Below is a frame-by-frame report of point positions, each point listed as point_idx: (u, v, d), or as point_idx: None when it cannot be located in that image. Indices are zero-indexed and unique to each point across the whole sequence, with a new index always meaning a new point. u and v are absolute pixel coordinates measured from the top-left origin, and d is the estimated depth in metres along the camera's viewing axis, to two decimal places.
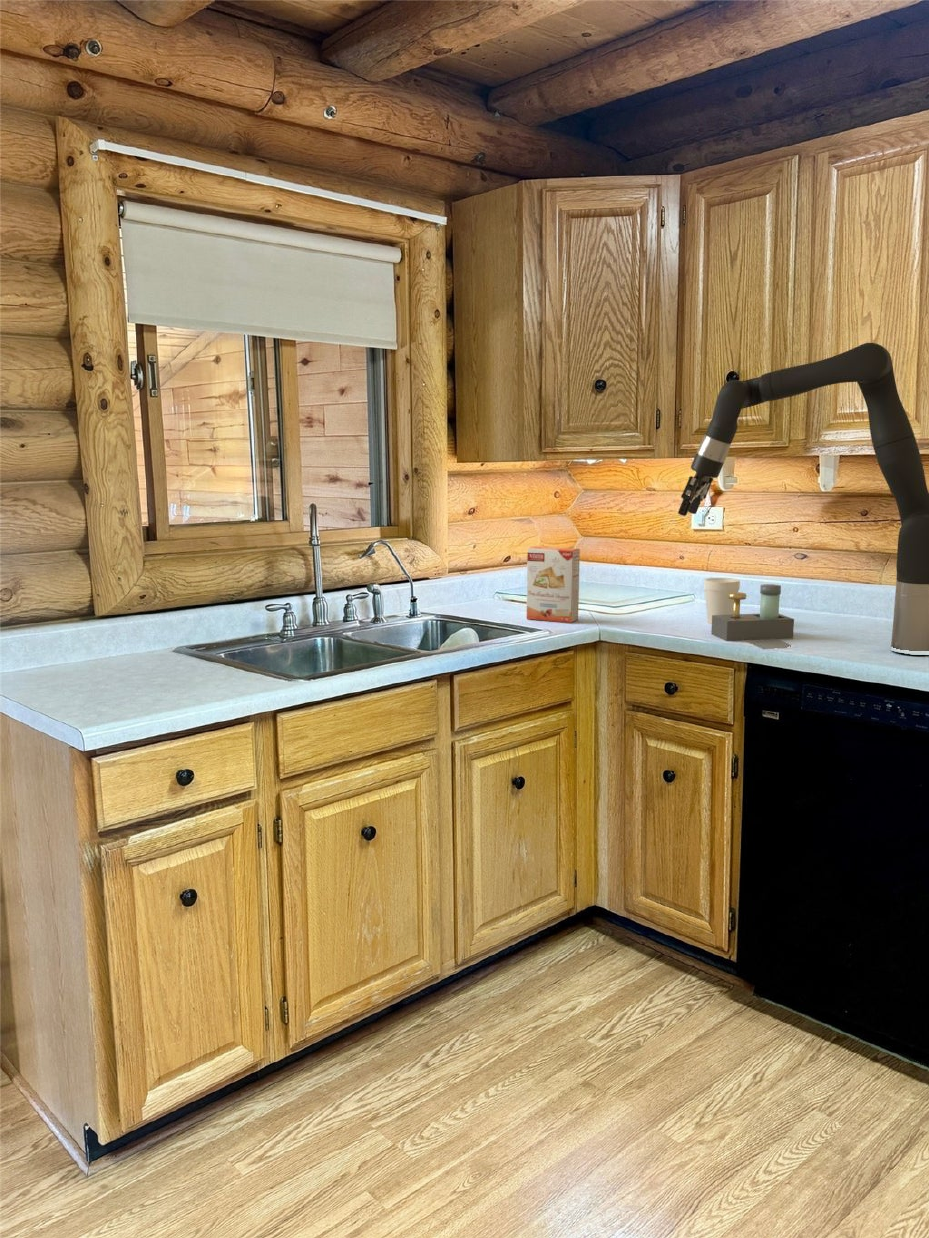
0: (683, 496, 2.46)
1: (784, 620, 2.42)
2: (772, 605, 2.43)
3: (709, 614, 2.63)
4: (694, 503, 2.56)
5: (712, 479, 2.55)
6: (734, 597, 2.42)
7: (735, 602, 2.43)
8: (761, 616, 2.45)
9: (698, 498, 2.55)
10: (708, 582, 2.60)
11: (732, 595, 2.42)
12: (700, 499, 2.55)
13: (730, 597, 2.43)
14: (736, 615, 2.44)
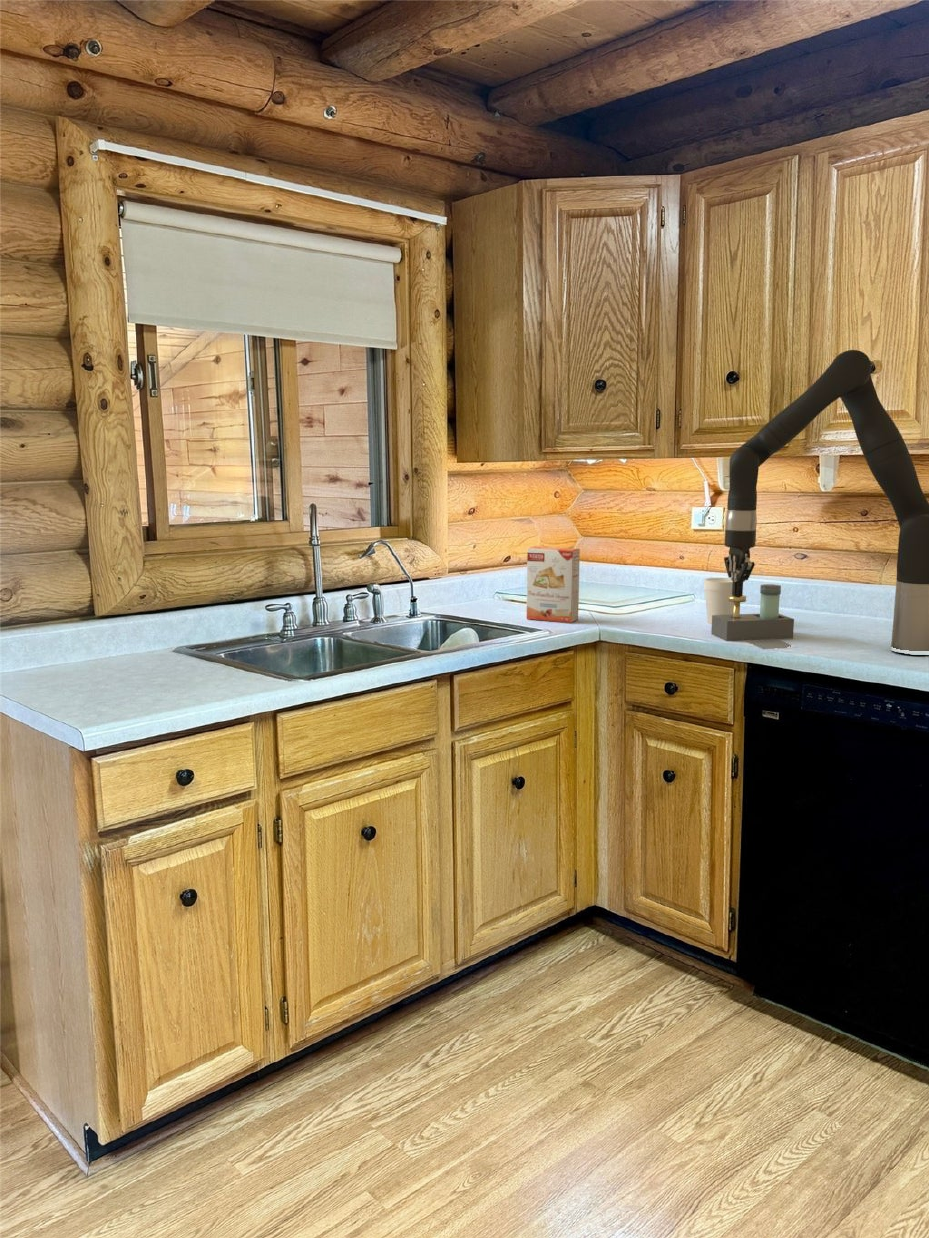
0: (740, 579, 2.40)
1: (784, 620, 2.42)
2: (772, 605, 2.43)
3: (709, 614, 2.63)
4: None
5: None
6: (734, 600, 2.42)
7: (735, 605, 2.43)
8: (761, 616, 2.45)
9: None
10: (708, 582, 2.60)
11: (732, 598, 2.42)
12: None
13: (730, 600, 2.43)
14: (736, 618, 2.44)
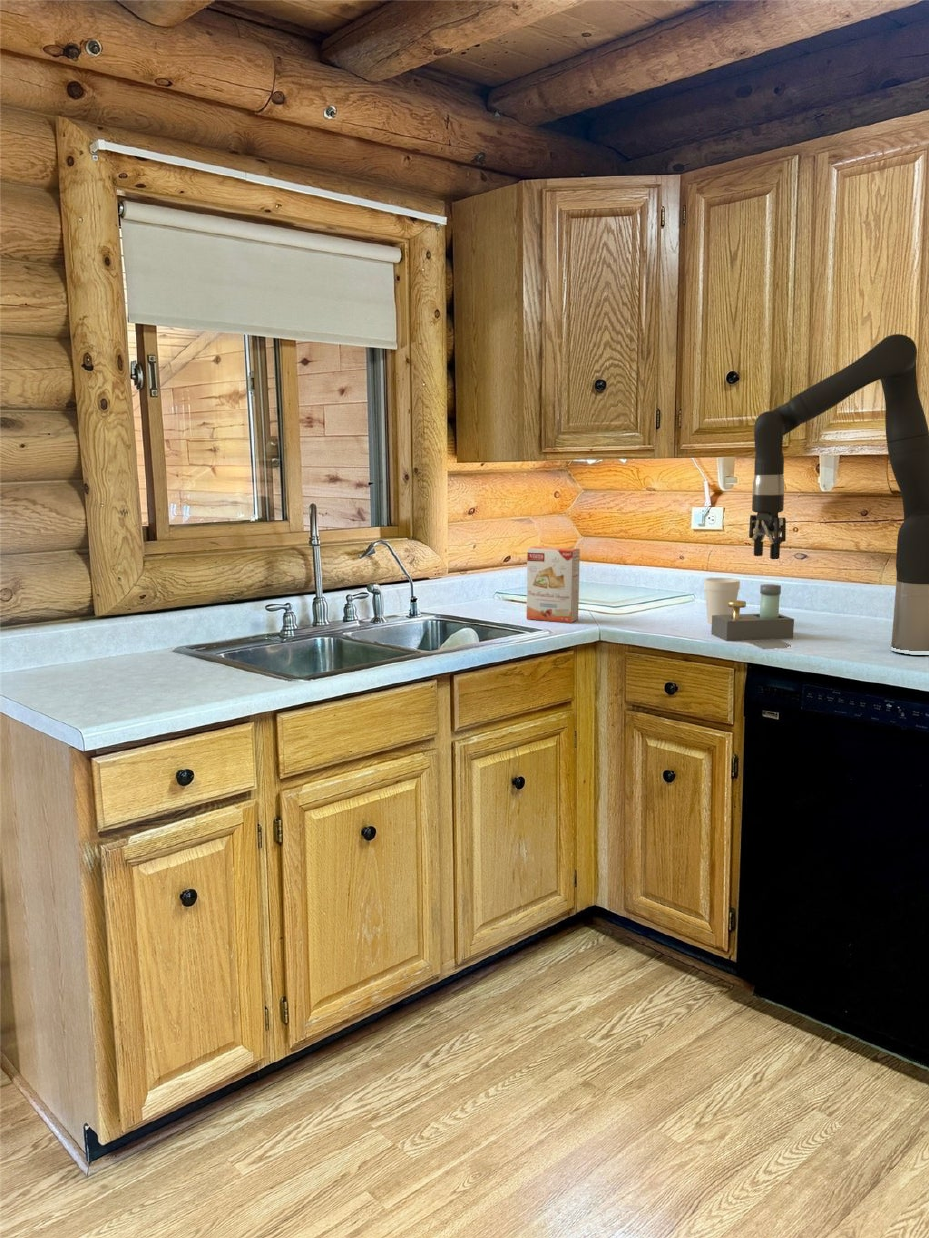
0: (778, 539, 2.34)
1: (784, 620, 2.42)
2: (772, 605, 2.43)
3: (709, 614, 2.63)
4: (758, 545, 2.46)
5: None
6: (734, 605, 2.42)
7: (735, 610, 2.44)
8: (761, 616, 2.45)
9: (759, 539, 2.46)
10: (708, 582, 2.60)
11: (732, 603, 2.42)
12: (762, 539, 2.46)
13: (730, 605, 2.43)
14: None
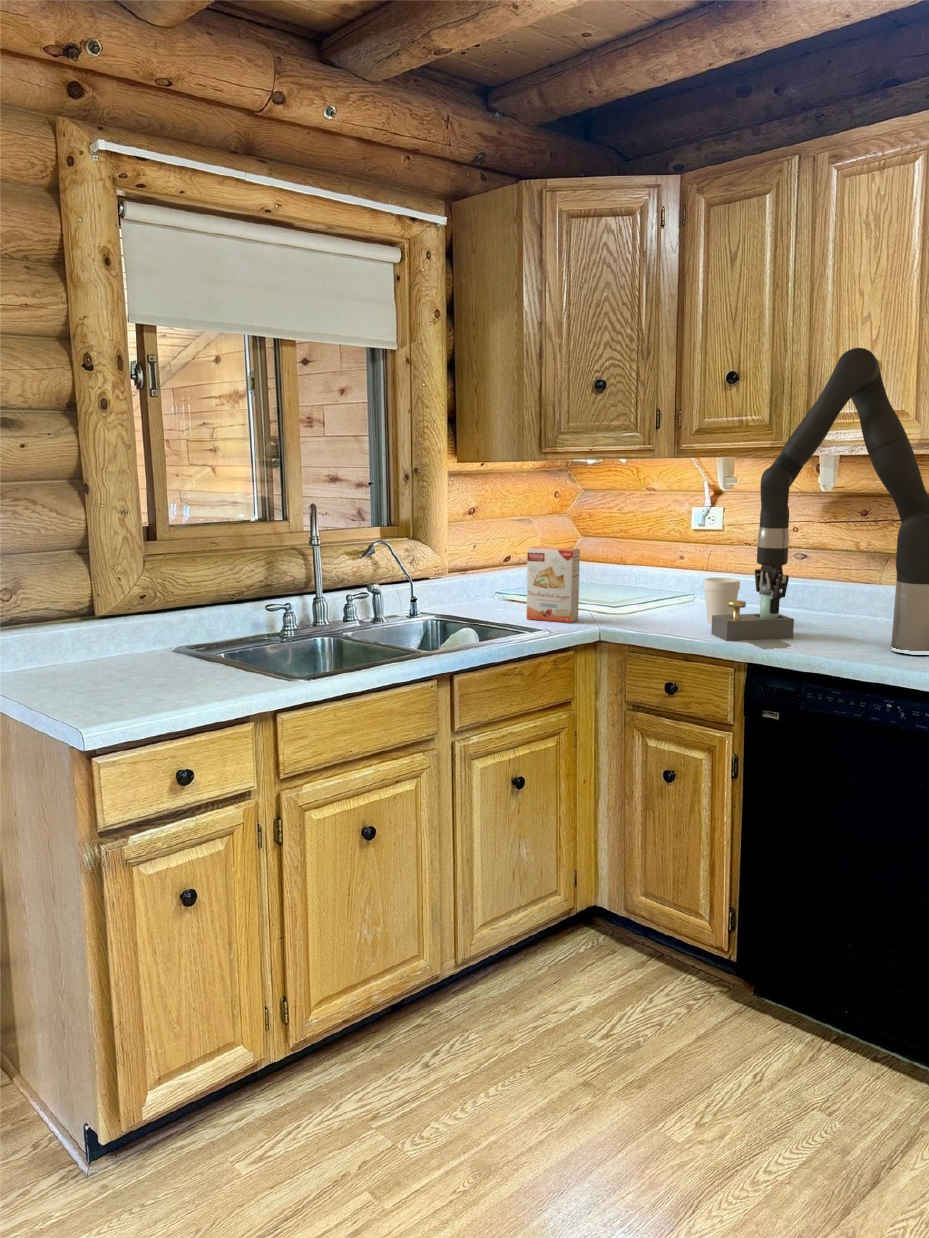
0: (778, 596, 2.40)
1: (784, 620, 2.42)
2: None
3: (709, 614, 2.63)
4: None
5: None
6: (734, 605, 2.42)
7: (735, 610, 2.44)
8: (761, 616, 2.45)
9: None
10: (708, 582, 2.60)
11: (732, 603, 2.42)
12: None
13: (730, 605, 2.43)
14: None
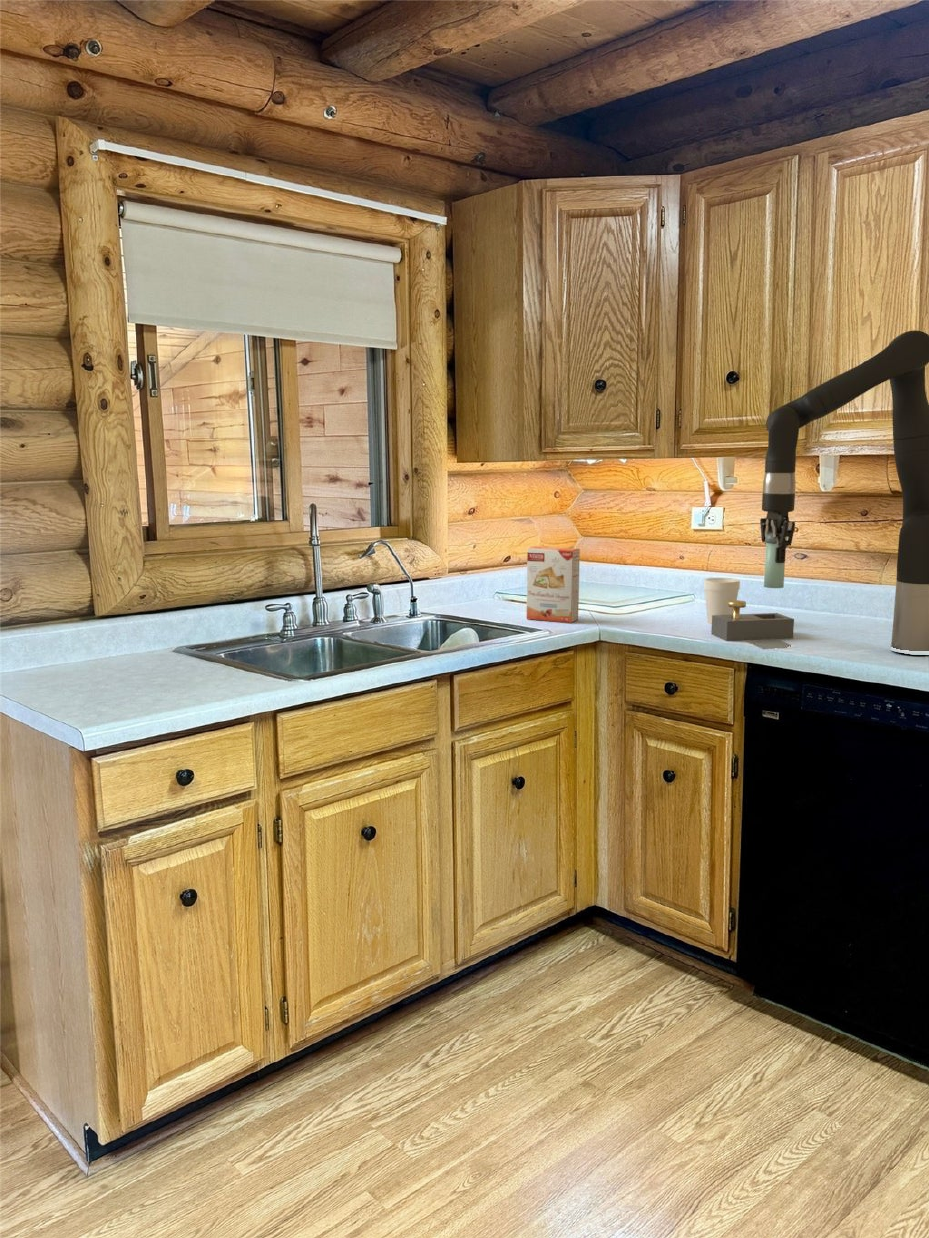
0: (783, 544, 2.29)
1: (784, 620, 2.42)
2: None
3: (709, 614, 2.63)
4: None
5: None
6: (734, 605, 2.42)
7: (735, 610, 2.44)
8: (766, 566, 2.35)
9: None
10: (708, 582, 2.60)
11: (732, 603, 2.42)
12: None
13: (730, 605, 2.43)
14: None
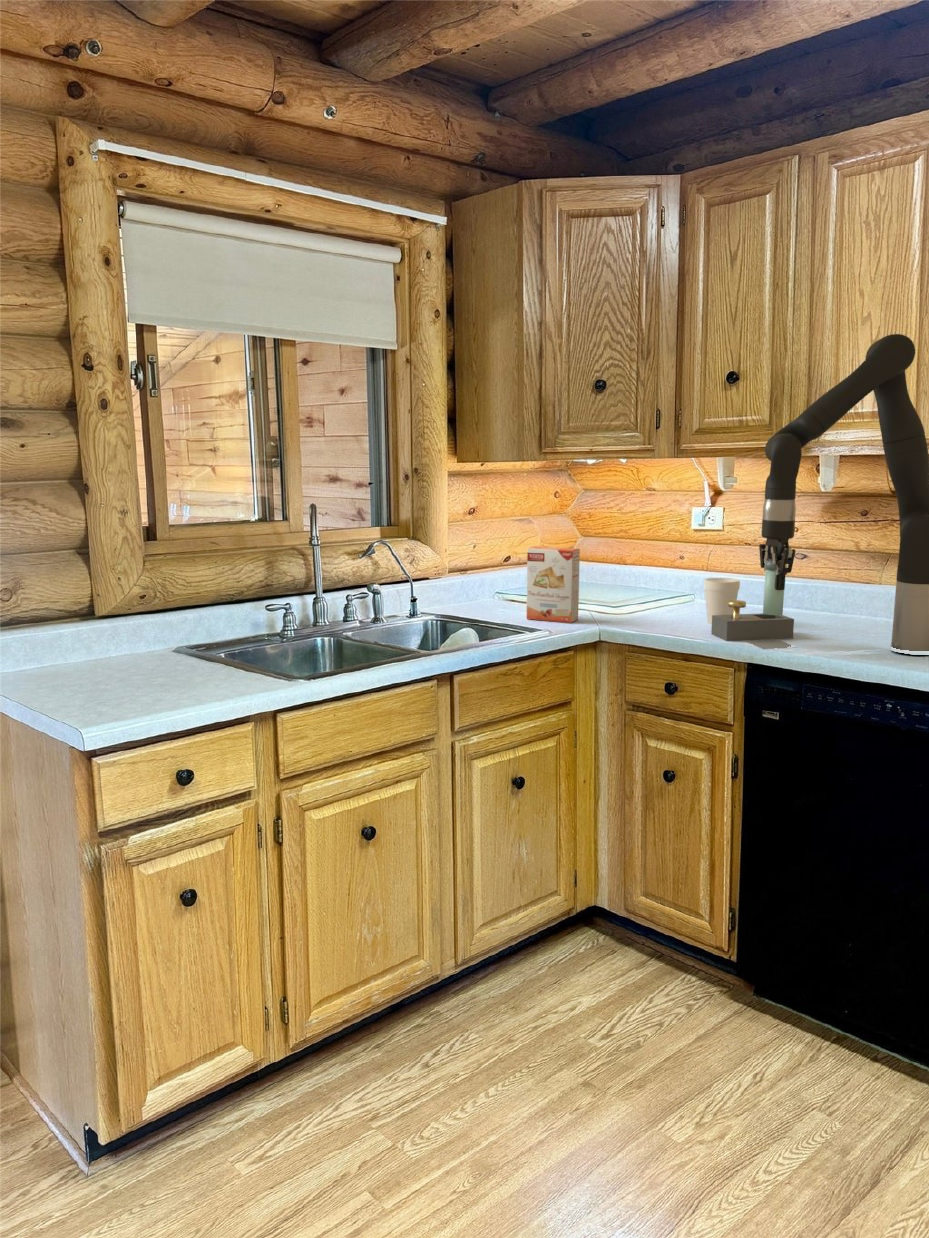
0: (783, 571, 2.27)
1: (784, 620, 2.42)
2: None
3: (709, 614, 2.63)
4: None
5: None
6: (734, 605, 2.42)
7: (735, 610, 2.44)
8: (766, 593, 2.33)
9: None
10: (708, 582, 2.60)
11: (732, 603, 2.42)
12: None
13: (730, 605, 2.43)
14: None
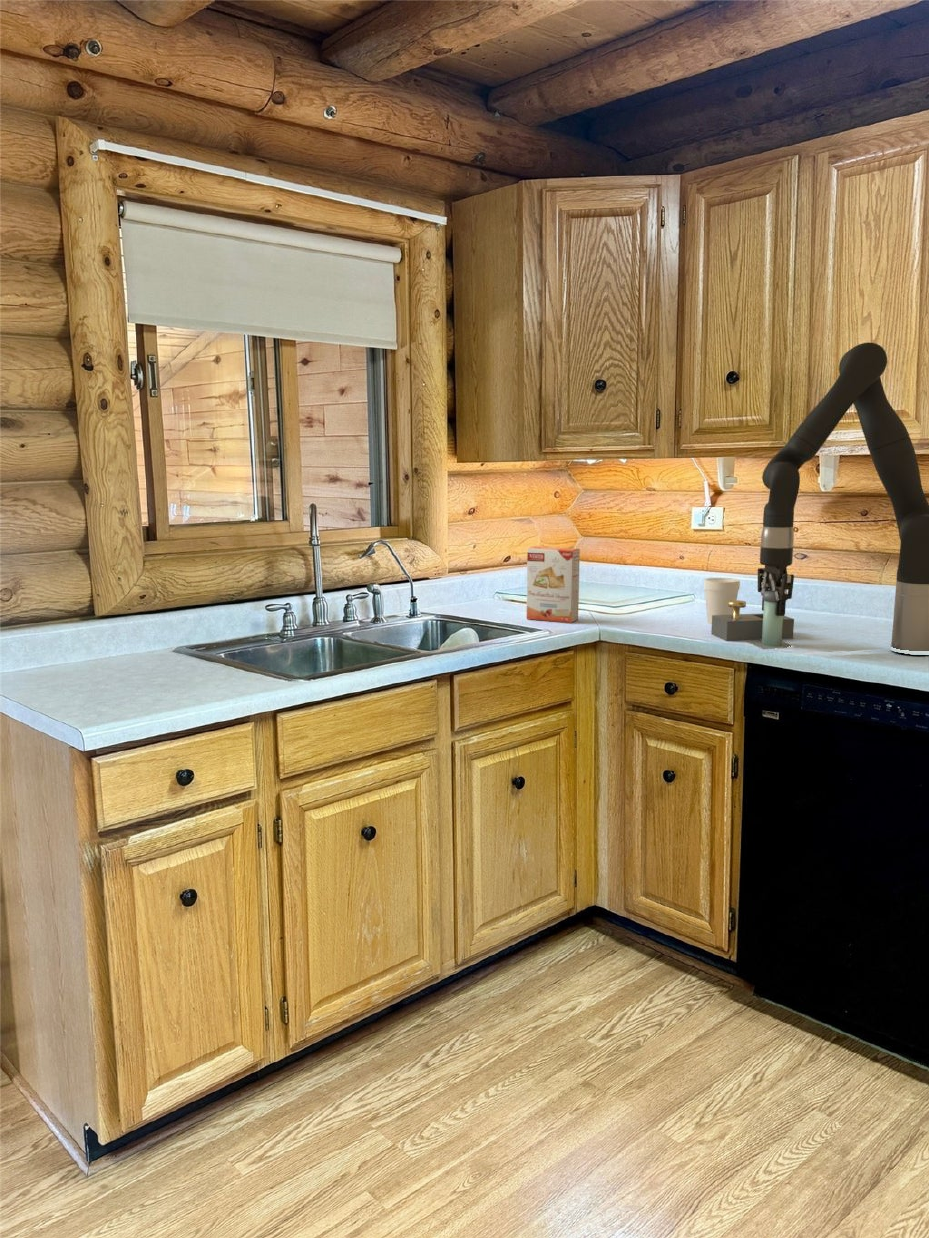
0: (784, 597, 2.27)
1: (784, 620, 2.42)
2: None
3: (709, 614, 2.63)
4: None
5: None
6: (734, 605, 2.42)
7: (735, 610, 2.44)
8: (764, 624, 2.34)
9: None
10: (708, 582, 2.60)
11: (732, 603, 2.42)
12: None
13: (730, 605, 2.43)
14: None
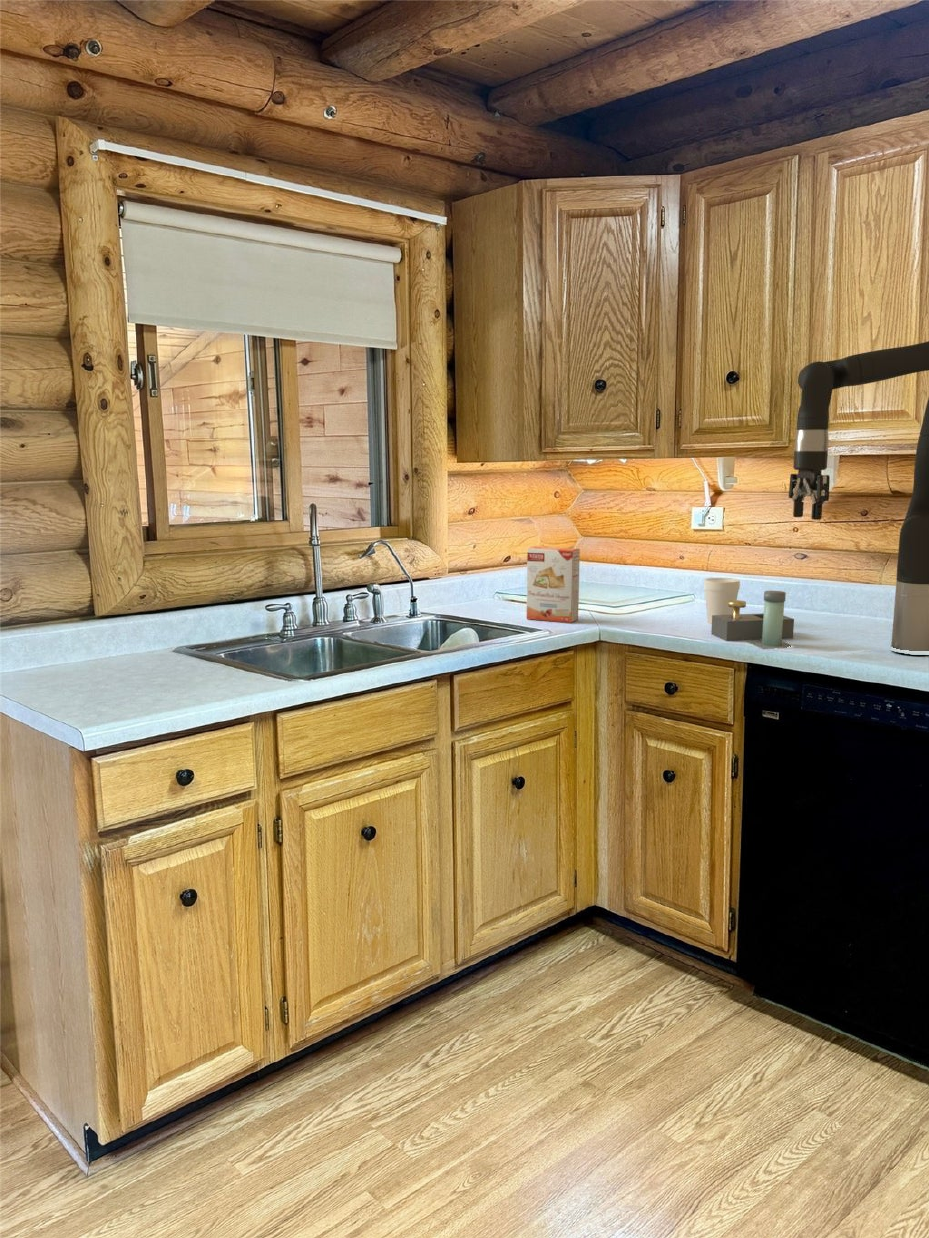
0: (821, 498, 2.21)
1: (784, 620, 2.42)
2: (776, 613, 2.32)
3: (709, 614, 2.63)
4: (798, 505, 2.32)
5: None
6: (734, 605, 2.42)
7: (735, 610, 2.44)
8: (764, 624, 2.34)
9: (800, 499, 2.32)
10: (708, 582, 2.60)
11: (732, 603, 2.42)
12: (802, 499, 2.32)
13: (730, 605, 2.43)
14: None
